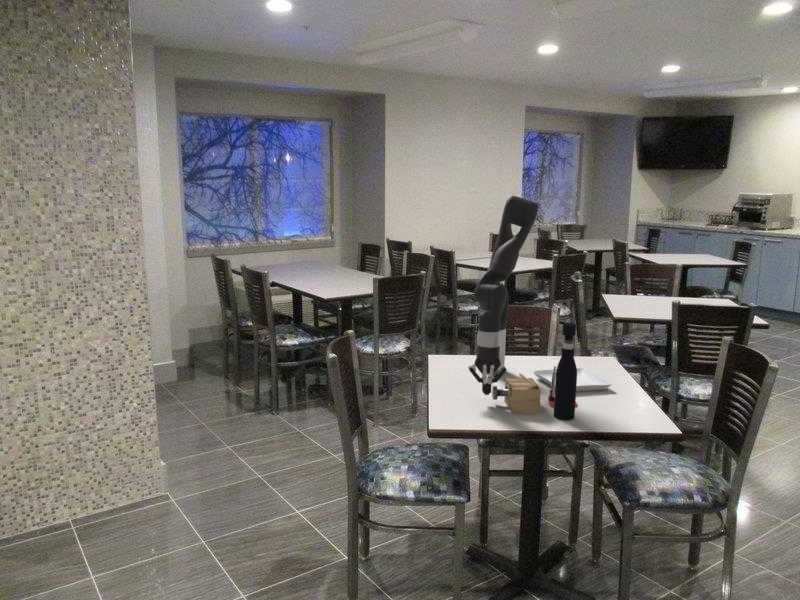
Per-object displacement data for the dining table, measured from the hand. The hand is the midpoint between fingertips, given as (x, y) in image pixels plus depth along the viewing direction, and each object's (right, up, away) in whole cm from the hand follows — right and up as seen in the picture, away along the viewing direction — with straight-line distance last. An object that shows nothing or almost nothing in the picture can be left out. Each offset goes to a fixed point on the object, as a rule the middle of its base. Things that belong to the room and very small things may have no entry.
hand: (486, 394), depth 212 cm
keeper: (+12, +5, -7) cm, 15 cm away
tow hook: (+26, -4, +2) cm, 26 cm away
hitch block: (+11, -4, -2) cm, 12 cm away
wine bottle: (+23, -6, -10) cm, 26 cm away
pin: (+9, -2, 0) cm, 9 cm away
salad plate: (+34, 0, +23) cm, 41 cm away
